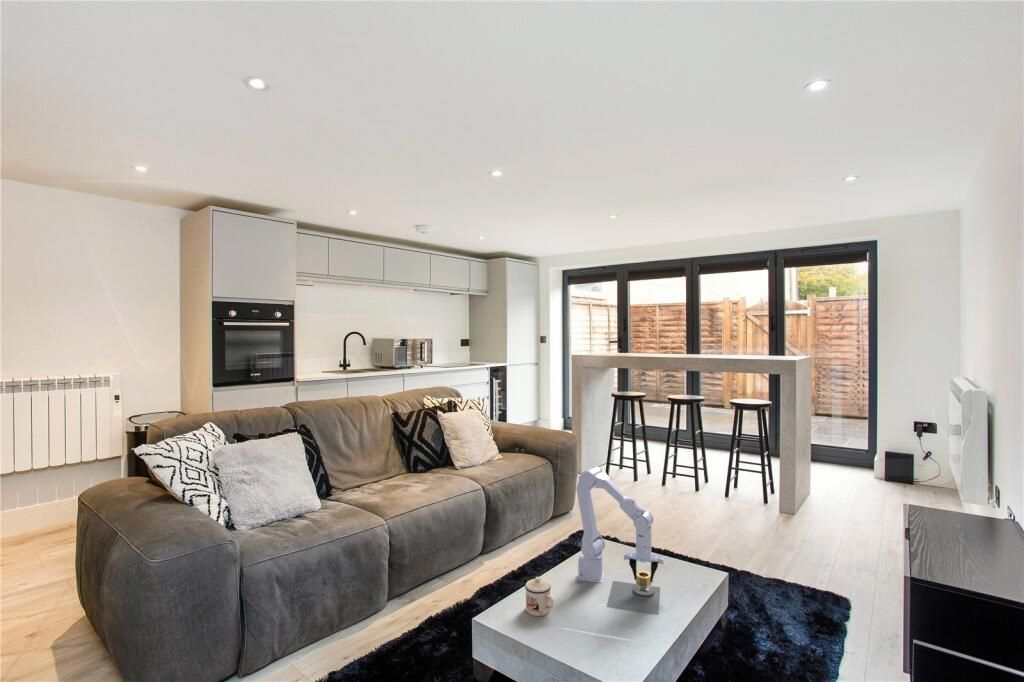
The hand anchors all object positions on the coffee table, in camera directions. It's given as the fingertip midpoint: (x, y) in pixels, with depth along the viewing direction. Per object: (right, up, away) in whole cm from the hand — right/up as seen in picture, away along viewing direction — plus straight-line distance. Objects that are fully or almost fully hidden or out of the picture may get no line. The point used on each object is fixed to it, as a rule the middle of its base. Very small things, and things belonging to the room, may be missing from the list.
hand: (643, 579), depth 199 cm
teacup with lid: (-40, -6, -13) cm, 42 cm away
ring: (0, -1, 0) cm, 1 cm away
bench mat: (-4, -5, -4) cm, 8 cm away
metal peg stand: (0, -4, 0) cm, 4 cm away
